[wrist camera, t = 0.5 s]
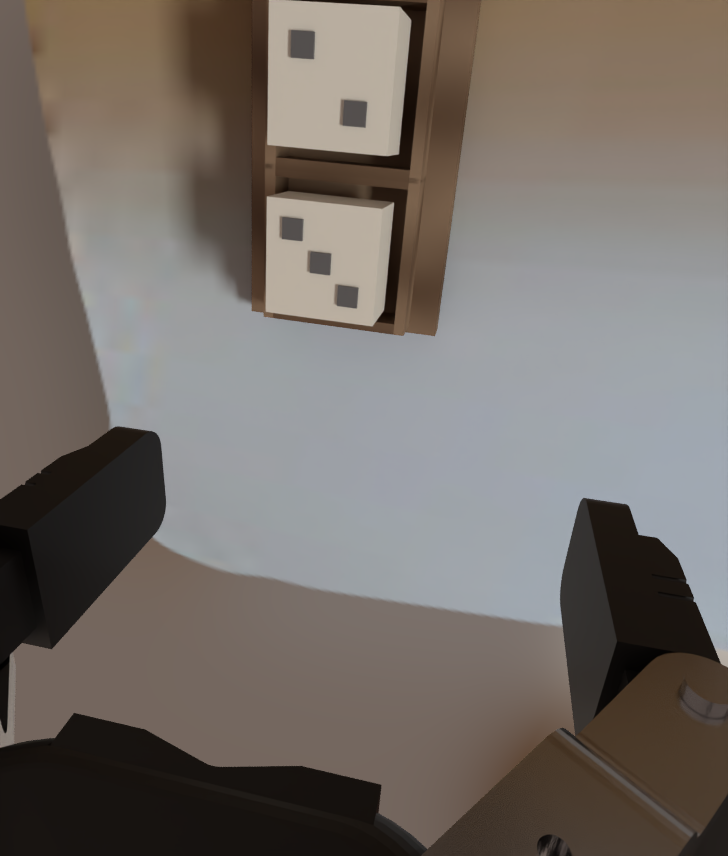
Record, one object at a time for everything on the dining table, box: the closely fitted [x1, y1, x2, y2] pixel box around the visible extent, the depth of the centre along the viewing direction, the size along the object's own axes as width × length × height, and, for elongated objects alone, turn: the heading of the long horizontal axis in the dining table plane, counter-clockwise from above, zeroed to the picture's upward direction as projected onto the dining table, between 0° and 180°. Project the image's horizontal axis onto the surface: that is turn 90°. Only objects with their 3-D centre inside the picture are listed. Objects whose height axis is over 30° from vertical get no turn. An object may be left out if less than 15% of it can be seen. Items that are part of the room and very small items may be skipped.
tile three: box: [266, 191, 394, 326], centre depth 29 cm, size 5×5×3 cm
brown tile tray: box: [252, 0, 481, 336], centre depth 28 cm, size 22×10×3 cm, turn 176°
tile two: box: [267, 0, 411, 156], centre depth 26 cm, size 5×5×3 cm
